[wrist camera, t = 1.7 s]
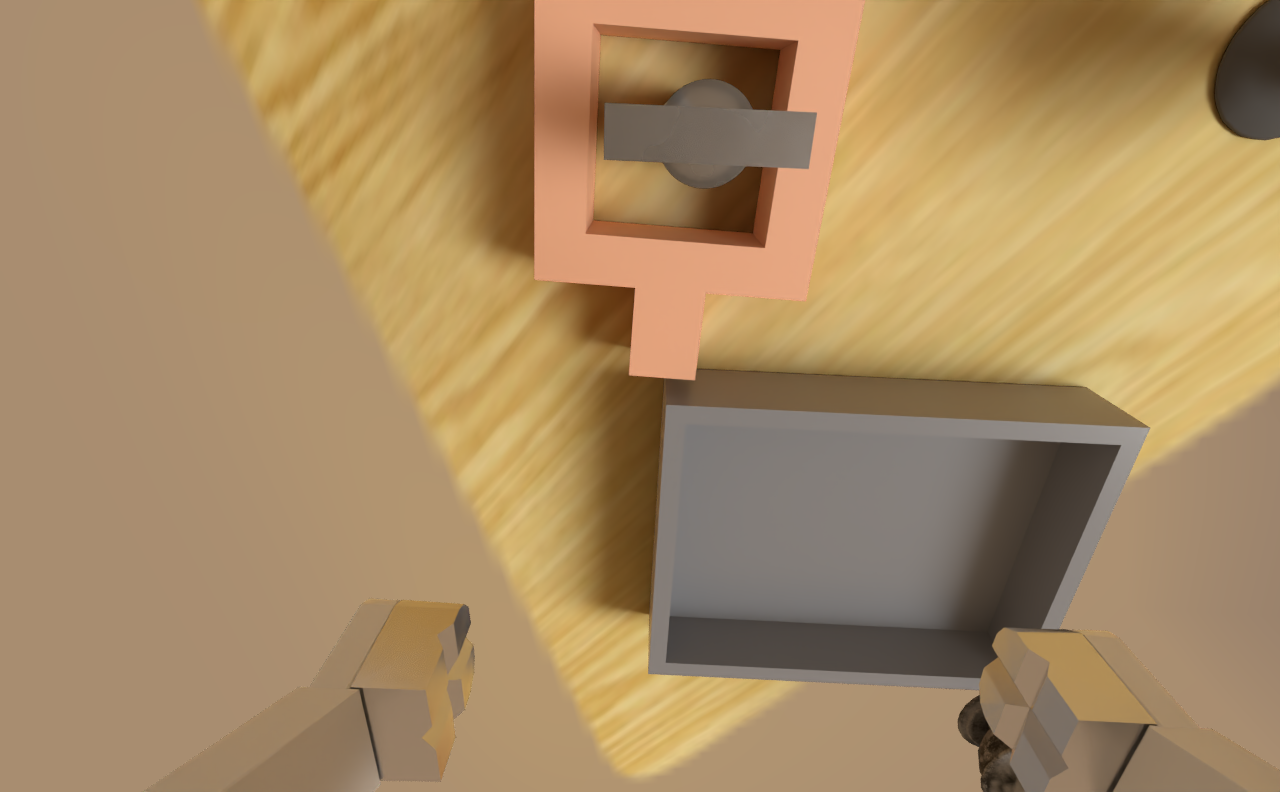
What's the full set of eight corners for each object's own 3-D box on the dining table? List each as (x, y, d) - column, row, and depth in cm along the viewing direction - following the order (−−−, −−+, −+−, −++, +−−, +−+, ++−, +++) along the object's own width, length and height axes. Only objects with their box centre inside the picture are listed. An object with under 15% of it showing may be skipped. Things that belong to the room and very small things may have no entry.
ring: (550, -31, 21) (534, -53, 18) (841, -7, 21) (869, -25, 18) (546, 341, 26) (534, 367, 24) (775, 359, 26) (788, 387, 24)
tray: (664, 367, 27) (666, 404, 23) (1086, 387, 27) (1150, 428, 23) (649, 615, 33) (648, 674, 29) (991, 632, 33) (1030, 692, 29)
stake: (624, 89, 22) (605, 72, 13) (756, 95, 22) (821, 82, 13) (623, 159, 23) (603, 186, 14) (748, 164, 23) (804, 195, 14)
